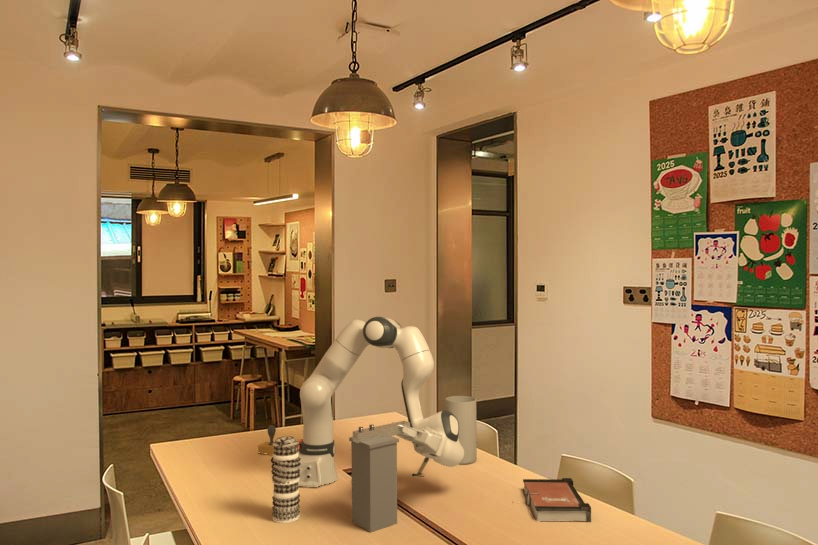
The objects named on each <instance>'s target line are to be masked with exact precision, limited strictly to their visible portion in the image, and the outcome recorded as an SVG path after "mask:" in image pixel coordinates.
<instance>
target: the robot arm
mask: <svg viewBox="0 0 818 545" xmlns="http://www.w3.org/2000/svg"><path fill="white" fill-rule="evenodd" d="M370 345H371V346H374V347H376V348H381V349H395V350H396V351H397V353H398V357H399V358H400V362H401V364H402V371H403V374H402V375H403V376H402V380H401V393H402V398H403V402H404V407H405V408H404V409H405V411H406V416H407V422H410V428H407V427H405V426H401V428H400V431H402V432H403V434H398V435H395V436H396V437H397V438H398V437H399V439H400V438H401V439H403V440H405V441H409V442H411V443H412V444H413V449H414V452H416V453H417V454H419V455H422V457H424V458H426V457H427V458H429V459H432V460H433V461H434V462H435V463H437V464H438V465H439V464H440V465H441V466H445V467H449V468H453V467H456V466H458V465H460V464H459V463H460V462H461V461H462V460H463V457H464V449H463V447H462V446H461V444H460V442H459V438H458V436H459V422H458V420H457V418H456V417H455V416H454V415H453V414H452V413H451V412H449V411H447V410H446V409H444V410H440V411H439V412H435V413H434V414H432V415H430V416H427V417H425V418H424V415H423V411H422V406H421V402H420V391H421V389H422V387H423V385H425V383H426V382H427V381H428V380H429V379H430V377H431V375H432V374H433V371H434V368H435V362H434V357H433V355H432V352H431V350H430V347H429V345H428V343H427V341H426V339H425V337H424V335H423V334H422V332H421V330H420V329H419V328H418V327H417V326H413V325H410V326H409V325H408V326H404V327H402V325H400V323H398V322H397V321H396V320H393V319H391V318H389V317H382V316H374V317H371V318H369V319H367V321H364V320H361V319H357V318H356V319H353V320H350V322H349V323H348V324H346V325H345V327H344V328H343V329H342V330H341V331H340V332H339V334H338V335H337V337H336V338H335V339H334V341H333V342H332V343H331V345H330V346H329V347H328V349H327V350H326V351H325V353H324V355H323V356H322V358H321V359H320V361H319V363H318V364H317V365H316V367H315V368H314V370H313V371H312V373H311V374H310V375H309V377H308V378H307V379H305V381H304V382H303V383H302V385H301V386H300V391H299V398H300V405H301V414H302V422H303V424H302V429H303V430H302V432H303V436H302V437H303V439H299V440H298V442H299V443H298V457H299V458H301V459H300V461H298V462H300V463H301V465H300V466H298V468H299V469H300V472H298V473H299V474H300V476H299V481H298V486H308V487H307V488H309V487H317V488H319V487H318V486H320V485H322V486H325V485H324V484H326V485H329V483H330V484H332V483H335V482H336V481H338V478H339V476H338V474H337V473H338V472H337V468H336V464H335V454H336V443H335V439H334V417H333V411H332V409H333V408H332V396H333V395H334V393H335V392H336V391H337V389H338V388H339V386H340V384H342V382H343V380H344V379H345V377H346V376H347V375H348V373H349V372H350V370H351V369H352V368H353V367H354V365H355V364H356V362H357V360H358V359H359V358H360V356H362V353H363V352H364V351H365V349H366V348H367V347H368V346H370ZM391 423H395V421H392V422H391ZM334 481H335V482H334ZM320 487H321V486H320Z"/></svg>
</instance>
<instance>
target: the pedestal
mask: <svg viewBox="0 0 818 545" xmlns="http://www.w3.org/2000/svg"><path fill="white" fill-rule="evenodd" d="M348 438H349V439H348V440H349V442H350V443H351V447H350V448H351V522H352V523H353V524H355V525H357V526H359V527H361V528H362V529H363V530H366V531H367V532H369V533H373V532H375V531H379V530H382V529H385V528H388V527H391V526H394V525H396V524H398V443H400V438H398V437H394V436H389V437H385V438H381V439H376V440H372V441H367V442H363V443H356V442H353V436H350V437H348Z"/></svg>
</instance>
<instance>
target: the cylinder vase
mask: <svg viewBox="0 0 818 545" xmlns="http://www.w3.org/2000/svg"><path fill="white" fill-rule="evenodd" d="M445 410H447V411H449V412H451V413H452V414H453V415H454V416H455V417H456V418H457V420H458V422H459V436H458V438H459V442H460V444H461V446H462V447H463V449H464V457H463V460H462V461H461V462H460V463H459V464H458V465H469V464H473V463H475V462H476V461H477V458H478V457H477V455H478V454H477V452H478V451H477V446H478V445H477V443H478V442H477V440H478V439H477V431H478V430H477V398H476V397H473V396H467V395H451V396H448V397H445Z"/></svg>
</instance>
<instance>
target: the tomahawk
mask: <svg viewBox="0 0 818 545" xmlns="http://www.w3.org/2000/svg"><path fill="white" fill-rule="evenodd" d="M429 461H430V458H427V457H424V459H423V462H422V464H421V466H420V468H419V469H418V471H417V473H415V472H414V473H412V476H413V477H421V478H424V477H425V475H423V470H424V469H425V467H426V465H427V464H428V462H429Z"/></svg>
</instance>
